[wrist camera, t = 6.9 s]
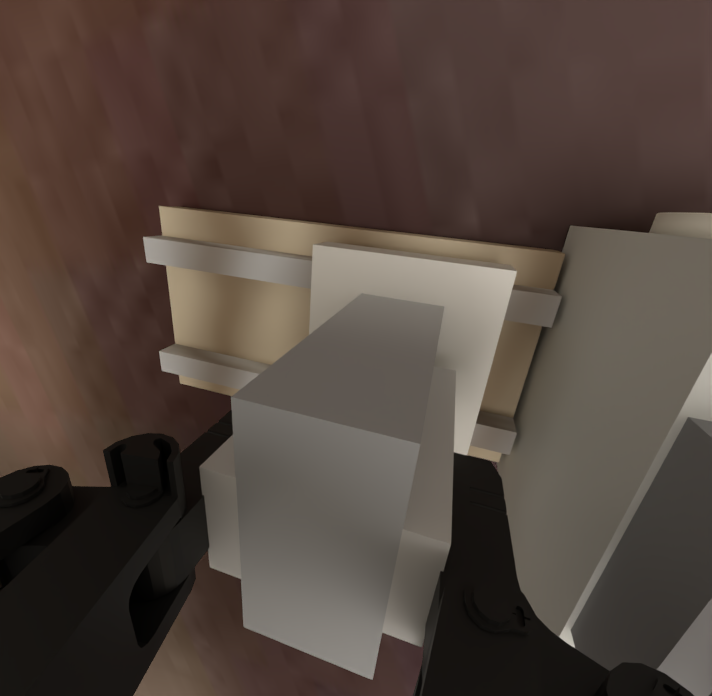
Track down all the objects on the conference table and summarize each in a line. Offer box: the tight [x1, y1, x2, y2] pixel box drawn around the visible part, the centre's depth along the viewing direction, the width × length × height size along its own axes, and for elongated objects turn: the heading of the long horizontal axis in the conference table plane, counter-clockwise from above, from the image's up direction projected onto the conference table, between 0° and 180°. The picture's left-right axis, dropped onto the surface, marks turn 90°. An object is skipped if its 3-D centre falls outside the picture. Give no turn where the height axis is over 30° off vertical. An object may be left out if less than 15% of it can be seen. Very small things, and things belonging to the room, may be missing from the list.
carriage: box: [231, 242, 517, 680], centre depth 11 cm, size 7×9×10 cm
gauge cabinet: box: [497, 212, 712, 696], centre depth 10 cm, size 6×13×12 cm, turn 174°
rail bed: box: [143, 206, 565, 462], centre depth 17 cm, size 18×10×3 cm, turn 84°
